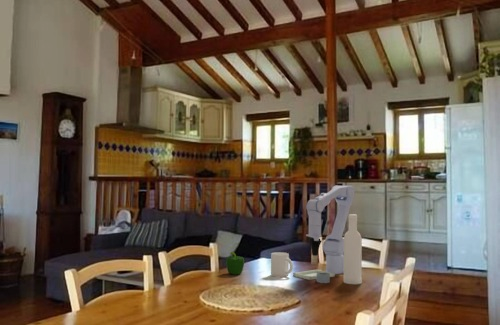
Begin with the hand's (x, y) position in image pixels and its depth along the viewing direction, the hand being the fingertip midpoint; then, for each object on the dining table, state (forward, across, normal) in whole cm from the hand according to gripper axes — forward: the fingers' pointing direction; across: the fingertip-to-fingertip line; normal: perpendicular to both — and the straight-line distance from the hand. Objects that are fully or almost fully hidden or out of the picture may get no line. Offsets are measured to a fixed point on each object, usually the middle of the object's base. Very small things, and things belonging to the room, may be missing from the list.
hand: (314, 254), depth 213 cm
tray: (+10, 0, 0) cm, 10 cm away
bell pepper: (+10, -4, -37) cm, 39 cm away
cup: (+10, +12, +3) cm, 16 cm away
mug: (+11, 0, -15) cm, 18 cm away
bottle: (+11, +11, +15) cm, 22 cm away
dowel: (+4, 0, 0) cm, 4 cm away
